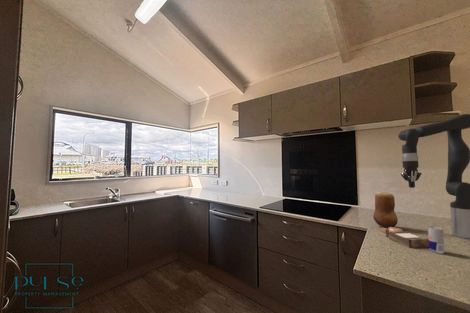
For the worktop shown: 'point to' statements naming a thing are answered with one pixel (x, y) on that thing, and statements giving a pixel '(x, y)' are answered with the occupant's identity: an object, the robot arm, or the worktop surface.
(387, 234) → the oak block
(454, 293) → the worktop surface
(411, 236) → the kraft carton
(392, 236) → the walnut display stand
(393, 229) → the cream small lump
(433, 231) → the energy drink
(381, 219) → the butternut squash
